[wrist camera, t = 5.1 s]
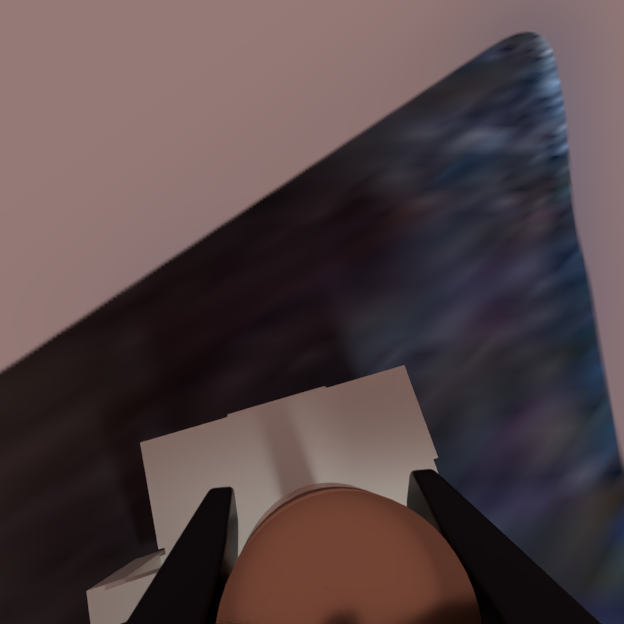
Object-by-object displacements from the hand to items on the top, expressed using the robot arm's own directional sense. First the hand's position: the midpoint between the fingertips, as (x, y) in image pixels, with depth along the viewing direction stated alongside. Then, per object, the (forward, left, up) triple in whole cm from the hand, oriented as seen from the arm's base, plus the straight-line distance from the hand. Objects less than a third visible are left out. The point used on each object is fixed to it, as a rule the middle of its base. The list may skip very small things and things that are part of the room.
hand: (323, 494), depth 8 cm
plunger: (-1, 0, -7) cm, 7 cm away
